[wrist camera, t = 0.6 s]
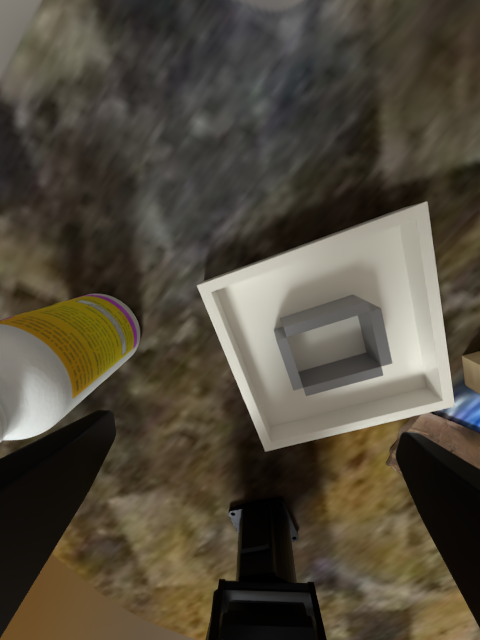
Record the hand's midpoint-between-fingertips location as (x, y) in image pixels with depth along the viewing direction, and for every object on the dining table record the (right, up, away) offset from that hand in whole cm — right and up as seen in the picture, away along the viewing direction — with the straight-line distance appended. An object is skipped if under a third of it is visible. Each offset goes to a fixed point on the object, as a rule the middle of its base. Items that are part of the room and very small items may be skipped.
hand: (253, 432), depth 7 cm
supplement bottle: (-12, +3, +14) cm, 19 cm away
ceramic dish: (+7, +2, +13) cm, 15 cm away
